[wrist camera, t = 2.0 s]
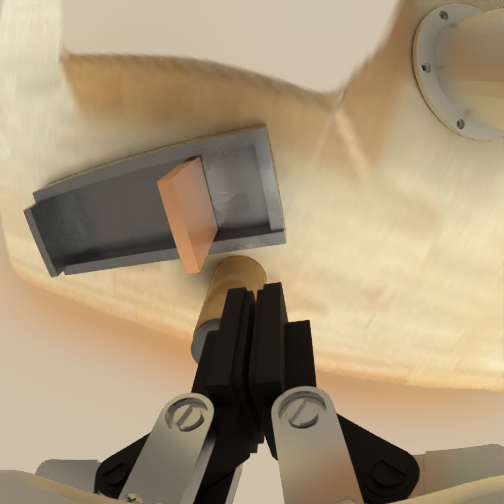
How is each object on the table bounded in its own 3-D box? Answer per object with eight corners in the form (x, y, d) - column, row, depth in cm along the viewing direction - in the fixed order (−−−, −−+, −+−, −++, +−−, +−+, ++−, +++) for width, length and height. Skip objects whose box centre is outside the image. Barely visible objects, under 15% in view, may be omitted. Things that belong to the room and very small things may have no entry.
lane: (266, 124, 24) (263, 131, 20) (285, 228, 28) (286, 255, 24) (50, 183, 27) (19, 200, 23) (79, 261, 31) (55, 285, 27)
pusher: (199, 155, 24) (172, 178, 18) (218, 229, 27) (199, 272, 21) (187, 158, 25) (156, 182, 18) (206, 231, 27) (185, 274, 21)
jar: (261, 252, 29) (252, 324, 20) (270, 297, 31) (265, 375, 23) (208, 259, 30) (180, 330, 21) (221, 303, 32) (201, 378, 23)
